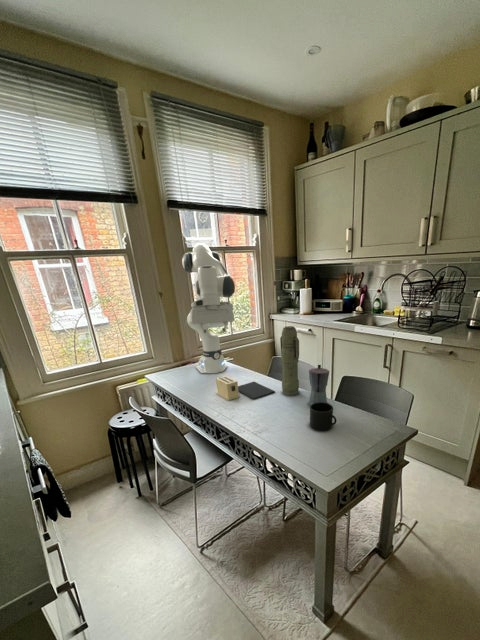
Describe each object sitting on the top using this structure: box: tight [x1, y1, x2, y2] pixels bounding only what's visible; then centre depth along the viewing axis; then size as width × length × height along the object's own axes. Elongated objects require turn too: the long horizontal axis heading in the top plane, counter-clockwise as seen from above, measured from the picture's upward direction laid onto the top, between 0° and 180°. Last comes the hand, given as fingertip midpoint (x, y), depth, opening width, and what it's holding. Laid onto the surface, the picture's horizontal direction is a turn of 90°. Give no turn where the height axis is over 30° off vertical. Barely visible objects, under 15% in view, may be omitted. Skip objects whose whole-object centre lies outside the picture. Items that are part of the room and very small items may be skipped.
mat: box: [238, 381, 276, 401], centre depth 174 cm, size 20×14×1 cm
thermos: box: [279, 325, 300, 397], centre depth 162 cm, size 9×12×35 cm
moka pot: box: [308, 364, 330, 406], centre depth 150 cm, size 10×15×20 cm, turn 174°
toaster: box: [215, 375, 240, 401], centre depth 168 cm, size 13×6×9 cm, turn 37°
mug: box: [309, 402, 338, 432], centre depth 132 cm, size 9×12×9 cm
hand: (214, 332), depth 148 cm, fingers open, 8 cm apart
